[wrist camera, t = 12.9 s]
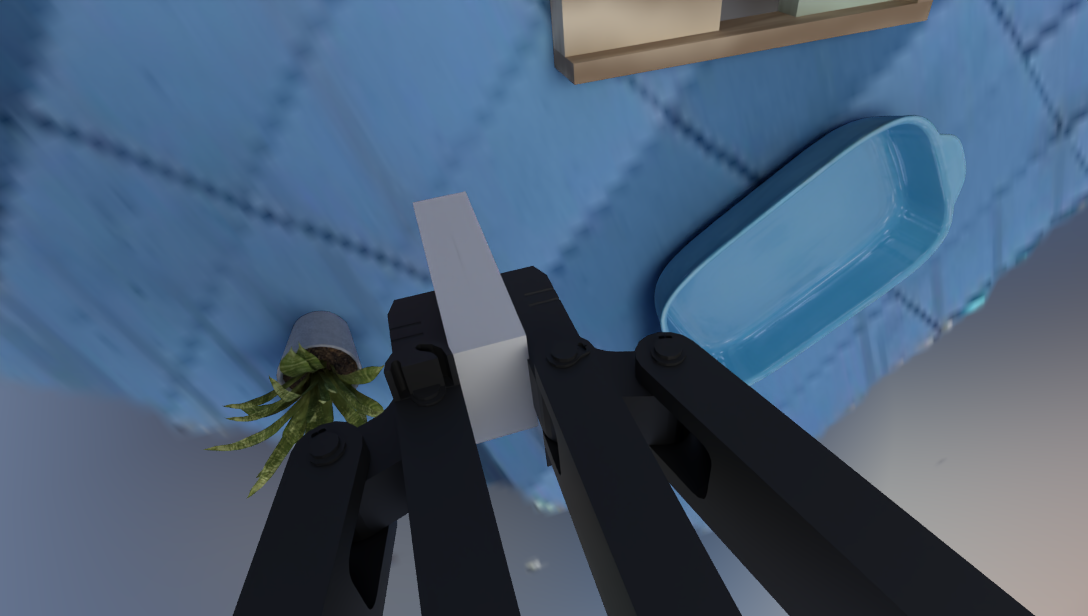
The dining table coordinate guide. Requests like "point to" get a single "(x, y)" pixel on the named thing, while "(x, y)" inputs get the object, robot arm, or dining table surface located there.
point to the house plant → (310, 387)
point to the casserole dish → (814, 243)
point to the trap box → (702, 30)
